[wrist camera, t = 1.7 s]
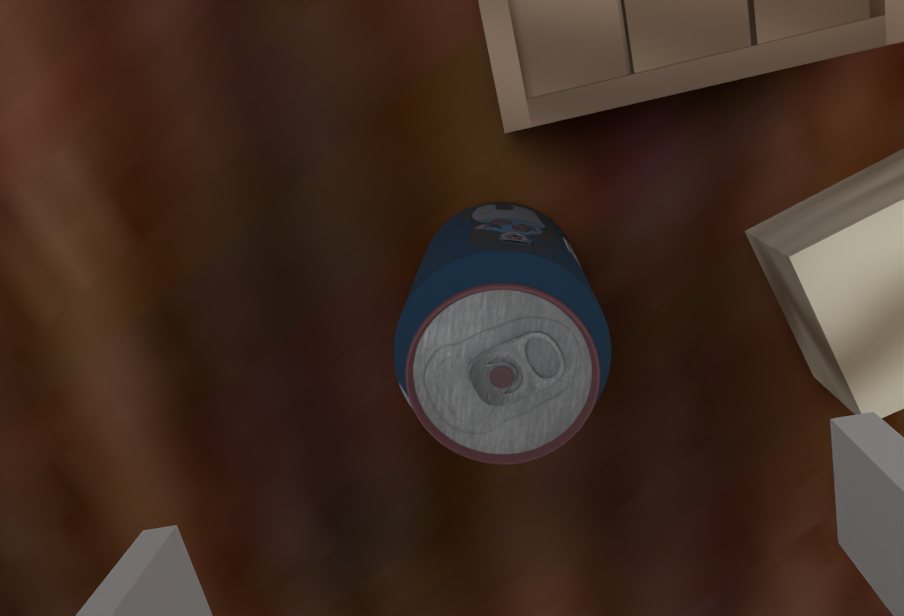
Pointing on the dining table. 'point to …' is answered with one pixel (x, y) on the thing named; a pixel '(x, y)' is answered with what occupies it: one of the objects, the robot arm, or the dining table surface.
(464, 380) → the soda can
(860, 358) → the beech block
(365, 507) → the dining table surface
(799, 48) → the wooden crate
